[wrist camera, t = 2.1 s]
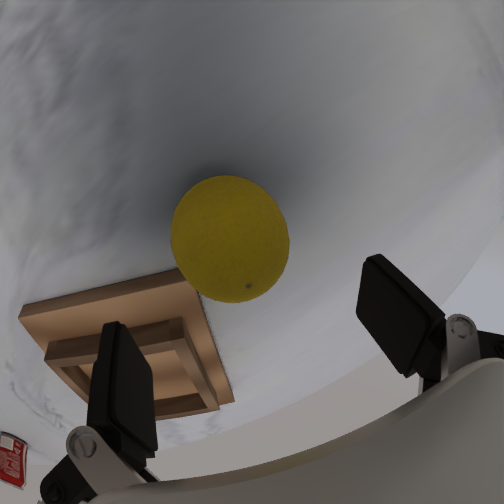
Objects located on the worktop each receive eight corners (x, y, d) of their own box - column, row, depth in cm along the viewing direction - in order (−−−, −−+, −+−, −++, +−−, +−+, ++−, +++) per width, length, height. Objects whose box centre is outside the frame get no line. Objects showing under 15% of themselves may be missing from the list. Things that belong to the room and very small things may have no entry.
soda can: (-4, 427, 26) (-8, 476, 16) (23, 438, 29) (20, 488, 19) (6, 438, 29) (3, 482, 19) (31, 447, 31) (30, 493, 22)
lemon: (224, 256, 19) (256, 349, 12) (153, 216, 16) (144, 308, 9) (277, 192, 17) (342, 262, 11) (207, 141, 14) (236, 184, 8)
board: (23, 305, 16) (10, 336, 13) (190, 265, 18) (195, 300, 16) (114, 409, 26) (114, 434, 23) (232, 390, 29) (239, 416, 26)
